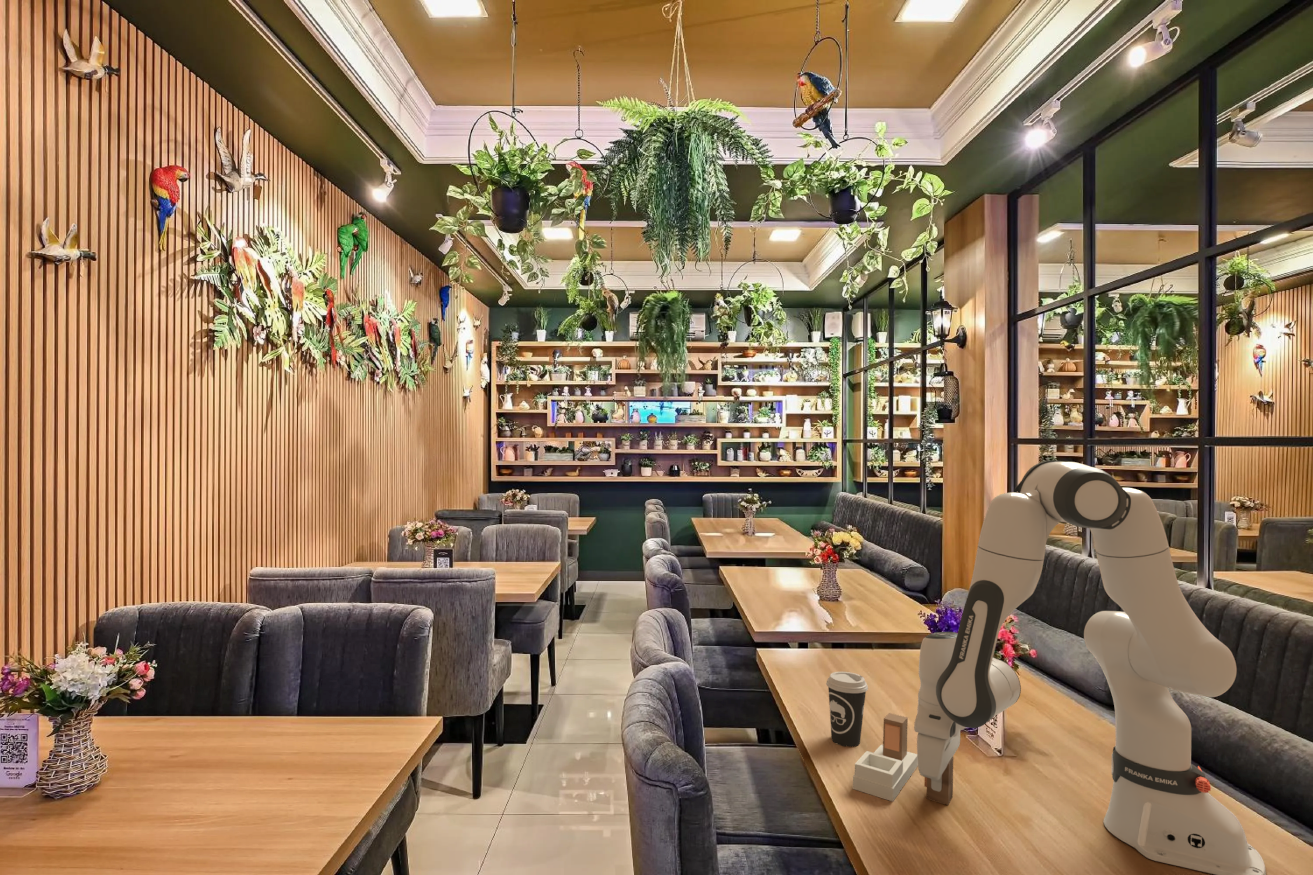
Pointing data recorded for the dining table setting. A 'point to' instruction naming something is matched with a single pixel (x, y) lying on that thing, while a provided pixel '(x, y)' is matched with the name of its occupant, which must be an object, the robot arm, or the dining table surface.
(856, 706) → the coffee cup
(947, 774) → the stacked taupe block
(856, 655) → the dining table surface
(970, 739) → the dining table surface
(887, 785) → the block holder
